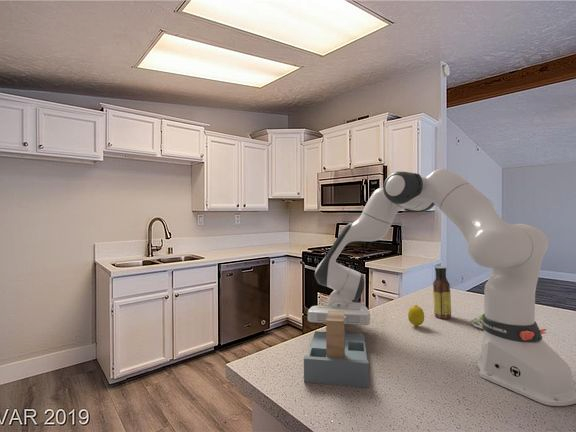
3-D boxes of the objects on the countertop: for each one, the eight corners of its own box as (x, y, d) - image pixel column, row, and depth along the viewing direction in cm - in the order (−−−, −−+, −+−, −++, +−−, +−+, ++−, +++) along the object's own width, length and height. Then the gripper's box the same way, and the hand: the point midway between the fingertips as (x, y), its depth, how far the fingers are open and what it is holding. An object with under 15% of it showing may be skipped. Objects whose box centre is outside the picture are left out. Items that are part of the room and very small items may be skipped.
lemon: (421, 324, 122) (421, 303, 122) (426, 329, 117) (426, 307, 116) (406, 323, 123) (406, 302, 122) (410, 329, 117) (410, 307, 117)
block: (328, 352, 93) (328, 310, 92) (344, 353, 92) (344, 311, 91) (326, 366, 85) (326, 320, 84) (344, 367, 84) (343, 321, 84)
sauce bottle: (452, 315, 131) (452, 266, 130) (450, 320, 125) (450, 269, 125) (434, 313, 134) (434, 265, 134) (431, 317, 129) (431, 267, 129)
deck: (315, 340, 109) (314, 322, 109) (364, 343, 106) (364, 324, 106) (304, 382, 83) (303, 358, 83) (368, 387, 80) (368, 363, 80)
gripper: (309, 299, 116) (304, 311, 103) (368, 302, 112) (371, 315, 99) (309, 317, 116) (304, 331, 103) (368, 320, 113) (371, 335, 99)
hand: (337, 323), depth 101 cm, fingers closed
